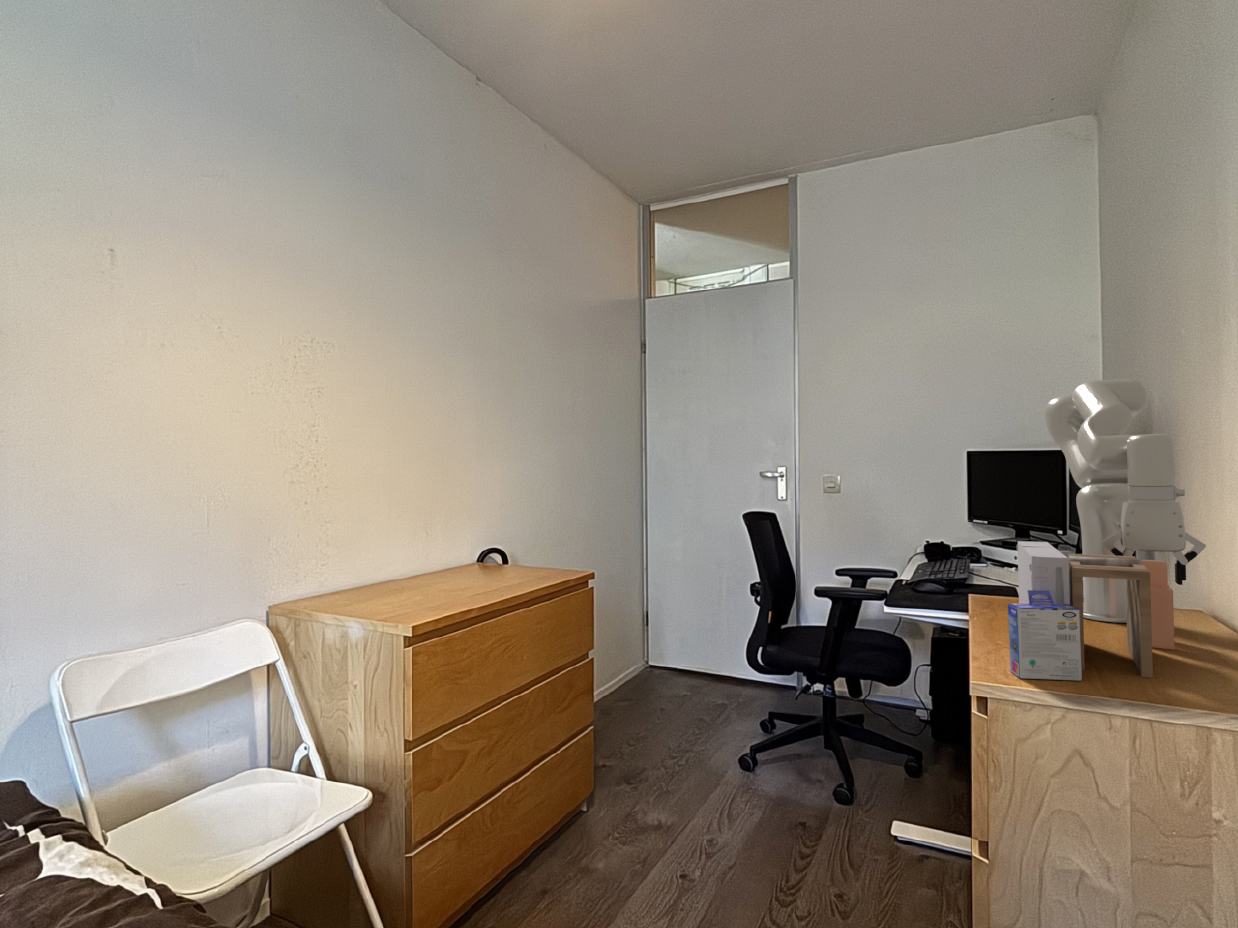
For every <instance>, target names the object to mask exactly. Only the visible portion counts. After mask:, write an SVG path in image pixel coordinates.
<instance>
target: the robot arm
mask: <svg viewBox="0 0 1238 928" xmlns="http://www.w3.org/2000/svg"><path fill="white" fill-rule="evenodd" d="M1147 403H1148V393H1147V390H1146V388H1145V386H1144V385H1143V384H1142V383H1141V382H1140V381H1138V380H1137V379H1133V378H1132V379H1131V378H1122V379H1121V378H1120V379H1117V378H1116V379H1104V380H1103V379H1099V380H1098V379H1097V380H1092V381H1091V380H1090V381H1086V382H1083V383H1082V384H1080V385H1078V386H1077V387H1076V388H1074V391H1073V392H1072V394H1067V395H1061V396H1057V397H1054V398H1053V399H1051V400H1050V401H1048V403H1047V404H1046V406H1045V410H1044V419H1045V420H1044V421H1045V425H1046V428H1047V431H1048V433H1049V435H1050V437H1051V438H1052V440H1053V441H1054V442H1055V444H1056V445H1057V446H1058V447H1059V449H1060V450H1061V452H1062V453H1063V455H1064V457H1065V460H1066V463H1067V465H1068V469H1069V471H1070V474H1071V476H1072V478H1073V480H1074V482H1075V484H1076V485H1077V486H1078V487H1079V488H1081V489H1080V490H1078V493H1077V494H1076V497H1075V498H1076V499H1075V500H1076V502H1075V503H1076V509H1077V514H1078V518H1079V523H1080V531H1081V550H1082V553H1081V554H1088V555H1111V556H1133V554H1134V553H1135V552H1136V551H1140V552H1163V553H1164V552H1166V553H1172V555H1173V556H1174V557H1175V559H1176V562H1175V563H1174V580H1175V581H1174V582H1175V584H1177V585H1178V586H1183V581H1186V580H1187V565H1188V564H1189V563H1190V562H1191V561H1192V560H1193V559H1195V558H1196V557H1197V556H1198V555H1199V554H1200V553H1201V552H1203V550H1205V549H1206V547H1207V546H1206V544H1205V543H1203V542H1202V541H1200V540H1199V539H1197V538H1195V537H1194V536H1192V535H1191V534H1189V533H1188V532H1186V529H1185V521H1184V516H1183V515H1184V514H1183V510H1182V507H1181V503H1180V501H1176V500H1177V498H1178V497H1179V498H1180V497H1185V494H1186V492H1185V488H1184V489H1181V488H1178V487H1176V481H1175V480H1176V479H1175V477H1176V476H1175V443H1174V439H1173V436H1171V435H1170V434H1168V433H1167V434H1166V433H1149V434H1148V433H1146V434H1143V433H1142V434H1122V433H1124V432H1125V431H1126V430H1127V429H1128V428H1129V427H1130V425H1131V424H1132V421H1133V418H1134V417H1136V416H1138V415H1139V414H1140V413H1141V412H1143V410H1144V409H1145V407H1146V405H1147ZM1119 525H1120V527H1119ZM1186 542H1188V543H1190V544H1191V545H1192V548H1191V549H1190V550H1189V551H1187V552H1186V553H1184V554H1183V552H1182V551H1184V550H1185V549H1186V546H1187V545H1186V544H1187V543H1186ZM1082 582H1083V619H1086V620H1087V619H1089V620H1093V621H1098V622H1099V621H1100V622H1106V623H1123V624H1125V623H1126V624H1127V612H1126V579H1112V578H1094V577H1082Z"/></svg>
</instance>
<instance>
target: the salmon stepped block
mask: <svg viewBox="0 0 1238 928" xmlns="http://www.w3.org/2000/svg"><path fill="white" fill-rule="evenodd" d="M1142 564H1143V565H1144V566H1145V567H1146V568H1147V569H1148V570H1149V571H1150V586H1151V625H1152V648H1157V649H1167V650H1174V649H1175V622H1174V621H1175V616H1174V610H1175V609H1174V590H1173V588H1171V587H1170V586H1169V581H1168V576H1169V575H1168V563H1167V562H1166V561H1165V560H1159V559H1158V560H1156V559H1155V560H1154V559H1142Z"/></svg>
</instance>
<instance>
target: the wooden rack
mask: <svg viewBox="0 0 1238 928" xmlns="http://www.w3.org/2000/svg"><path fill="white" fill-rule="evenodd" d="M1067 557H1068V558H1069V596H1070V605H1071V606H1073V607H1075V608H1078V609H1079V610H1080V645H1081V671H1086V670H1085V666H1086V665H1085V631H1084V629H1085V628H1084V618H1083V607H1084V596H1083V577H1094V578H1112V579H1126V612H1127V623H1126V645H1127V649H1128V651H1129V653H1130V655H1131V657H1132V660H1133V662H1134V664H1135V666H1136V668H1137V670H1138V672H1139V675H1140V676H1141V677H1142V678H1147V679H1148V678H1149V679H1154V673H1153V670H1154V669H1153V666H1154V665H1153V647H1152V625H1151V586H1150V571H1149V570H1148V569H1147V568H1146V567H1145V566H1144V565H1143V564H1142V560H1143V559H1140V558H1137V557H1136V556H1135V555H1134V556H1133V555H1132V556H1111V555H1088V554H1082V553H1067Z"/></svg>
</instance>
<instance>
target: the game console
mask: <svg viewBox="0 0 1238 928" xmlns="http://www.w3.org/2000/svg"><path fill="white" fill-rule="evenodd" d="M1016 551H1017V573H1018V604H1021V603H1029V597H1028V591H1027V590H1034V591H1050V594H1051V597H1052V600H1053V603H1054V604H1069V605H1070V596H1069V558H1068V556H1066V555H1065V554H1063V553H1062V552H1061V551H1059V550H1058V549H1057V548H1055V547H1054V546H1053V545H1052V544H1051V543H1049V542H1048V541H1025V540H1024V541H1022V540H1020V541H1019V540H1018V541H1017V544H1016ZM1032 598H1034V599H1048V597H1047V596H1045V595H1042V594H1037V595H1033V596H1032Z"/></svg>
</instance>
